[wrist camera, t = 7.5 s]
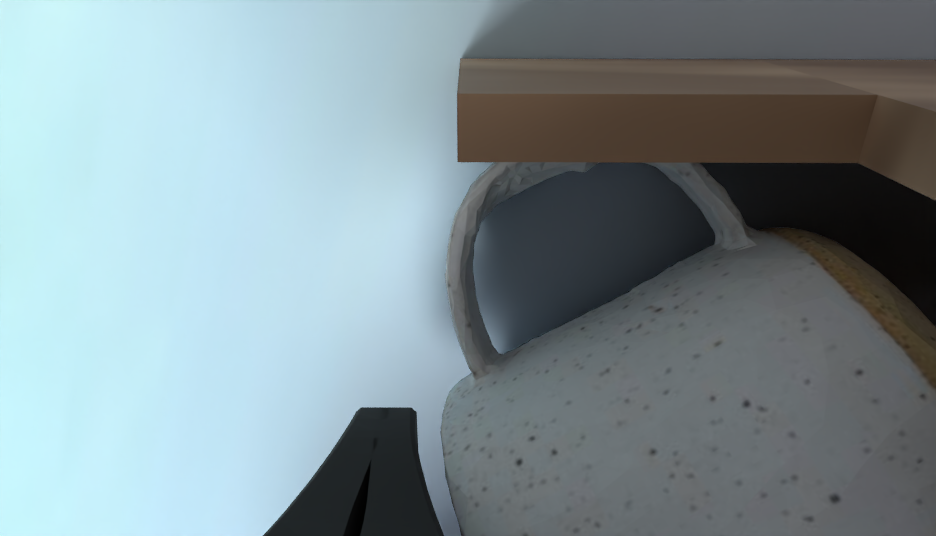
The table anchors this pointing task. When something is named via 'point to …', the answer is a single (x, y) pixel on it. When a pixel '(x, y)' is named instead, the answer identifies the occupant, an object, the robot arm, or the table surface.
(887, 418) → the ceramic mug
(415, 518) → the robot arm
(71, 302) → the table surface
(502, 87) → the stepped wooden block
